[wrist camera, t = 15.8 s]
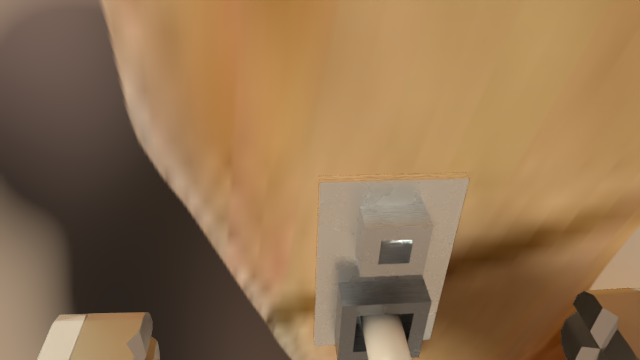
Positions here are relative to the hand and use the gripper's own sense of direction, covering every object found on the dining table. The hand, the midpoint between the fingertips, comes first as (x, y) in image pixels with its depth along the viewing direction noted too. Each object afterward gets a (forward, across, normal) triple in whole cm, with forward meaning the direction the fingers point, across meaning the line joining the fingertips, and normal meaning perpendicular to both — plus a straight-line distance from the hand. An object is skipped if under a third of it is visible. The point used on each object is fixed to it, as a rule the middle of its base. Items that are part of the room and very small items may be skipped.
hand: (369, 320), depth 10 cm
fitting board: (+29, -9, +28) cm, 41 cm away
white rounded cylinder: (+28, -9, +33) cm, 45 cm away
